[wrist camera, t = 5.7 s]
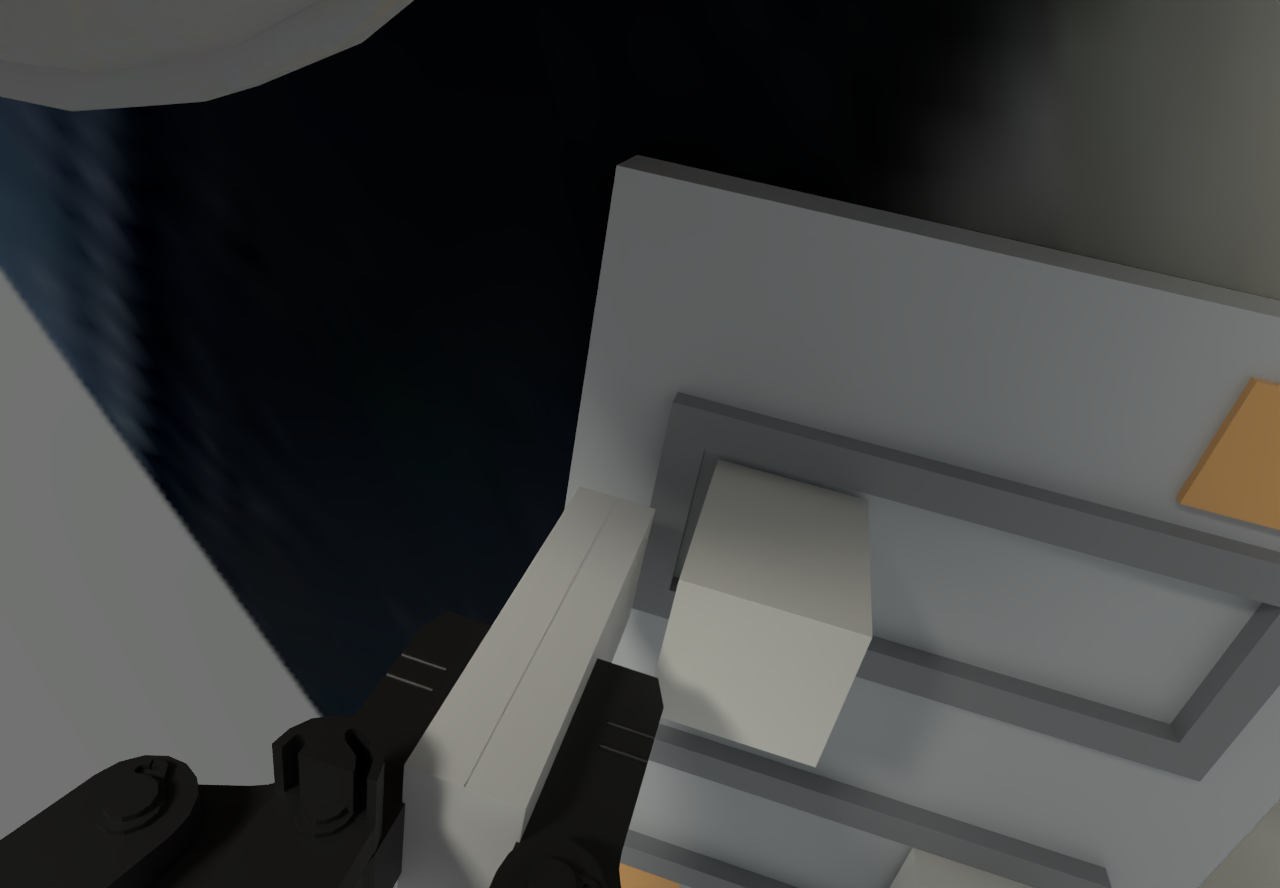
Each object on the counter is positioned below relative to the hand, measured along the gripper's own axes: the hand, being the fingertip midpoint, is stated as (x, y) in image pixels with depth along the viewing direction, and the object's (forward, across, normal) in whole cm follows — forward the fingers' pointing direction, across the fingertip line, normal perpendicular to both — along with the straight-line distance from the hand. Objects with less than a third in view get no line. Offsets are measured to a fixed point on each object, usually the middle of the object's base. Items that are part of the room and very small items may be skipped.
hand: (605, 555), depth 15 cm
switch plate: (+3, +7, -4) cm, 8 cm away
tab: (+2, +3, 0) cm, 4 cm away
